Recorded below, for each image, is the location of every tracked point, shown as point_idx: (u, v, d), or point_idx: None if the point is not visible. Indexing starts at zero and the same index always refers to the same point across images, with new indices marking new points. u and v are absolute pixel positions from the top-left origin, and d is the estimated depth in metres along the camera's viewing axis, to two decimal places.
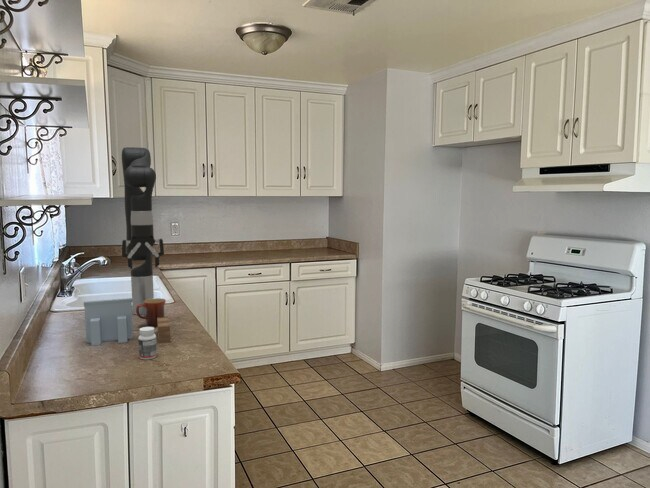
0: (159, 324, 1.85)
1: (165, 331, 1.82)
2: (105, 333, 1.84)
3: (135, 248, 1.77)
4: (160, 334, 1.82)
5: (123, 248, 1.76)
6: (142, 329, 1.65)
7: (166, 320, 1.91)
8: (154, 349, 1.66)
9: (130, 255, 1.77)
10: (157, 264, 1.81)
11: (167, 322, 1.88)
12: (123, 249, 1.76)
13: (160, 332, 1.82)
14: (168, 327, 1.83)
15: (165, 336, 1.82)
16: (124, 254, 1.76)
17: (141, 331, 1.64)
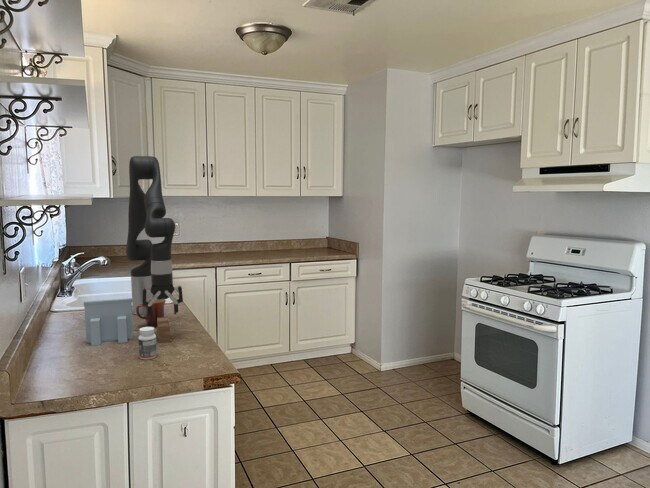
0: (159, 324, 1.85)
1: (165, 331, 1.82)
2: (105, 333, 1.84)
3: (155, 296, 1.82)
4: (160, 334, 1.82)
5: (144, 297, 1.81)
6: (142, 329, 1.65)
7: (166, 320, 1.91)
8: (154, 349, 1.66)
9: (150, 303, 1.82)
10: (176, 311, 1.86)
11: (167, 322, 1.88)
12: (144, 298, 1.81)
13: (160, 332, 1.82)
14: (168, 327, 1.83)
15: (165, 336, 1.82)
16: (144, 302, 1.81)
17: (141, 331, 1.64)
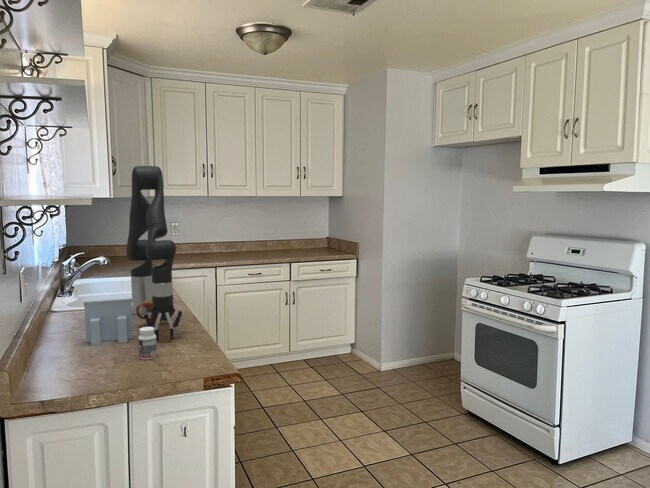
0: (159, 324, 1.85)
1: (165, 331, 1.82)
2: (105, 333, 1.84)
3: (158, 319, 1.83)
4: (160, 334, 1.82)
5: (148, 321, 1.82)
6: (142, 329, 1.65)
7: None
8: (154, 349, 1.66)
9: (157, 327, 1.84)
10: (171, 335, 1.87)
11: (167, 322, 1.88)
12: (148, 322, 1.82)
13: (160, 332, 1.82)
14: (168, 327, 1.83)
15: (165, 336, 1.82)
16: (151, 326, 1.83)
17: (141, 331, 1.64)
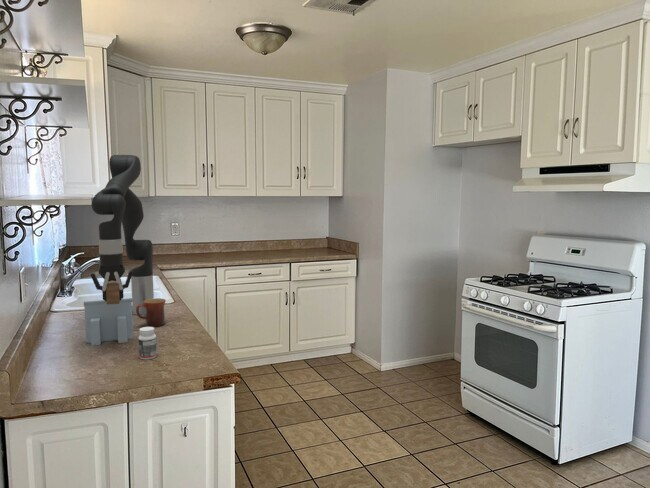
0: (108, 285, 1.72)
1: (113, 291, 1.70)
2: (105, 333, 1.84)
3: (106, 279, 1.71)
4: (108, 295, 1.69)
5: (94, 281, 1.70)
6: (142, 329, 1.65)
7: None
8: (154, 349, 1.66)
9: (105, 287, 1.71)
10: (121, 297, 1.74)
11: None
12: (95, 282, 1.70)
13: (108, 292, 1.69)
14: (117, 287, 1.70)
15: (113, 297, 1.70)
16: (98, 287, 1.70)
17: (141, 331, 1.64)
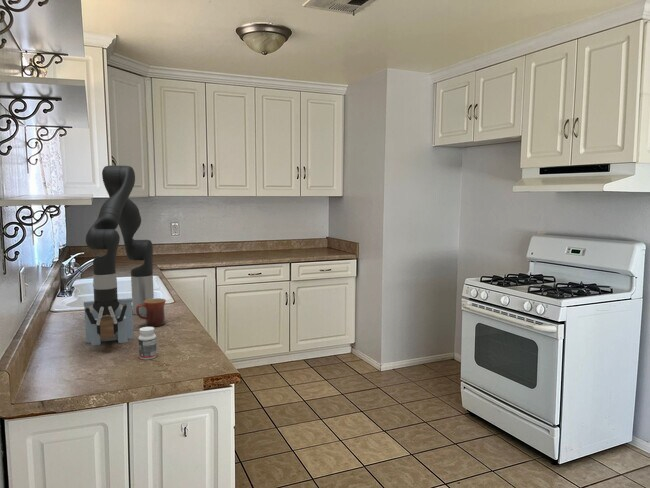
0: (102, 319, 1.73)
1: (107, 326, 1.70)
2: None
3: (100, 313, 1.71)
4: (102, 329, 1.70)
5: (89, 316, 1.70)
6: (142, 329, 1.65)
7: None
8: (154, 349, 1.66)
9: (99, 322, 1.72)
10: (115, 331, 1.74)
11: (111, 317, 1.75)
12: (89, 317, 1.70)
13: (102, 327, 1.69)
14: (111, 322, 1.70)
15: (107, 331, 1.70)
16: (93, 321, 1.71)
17: (141, 331, 1.64)
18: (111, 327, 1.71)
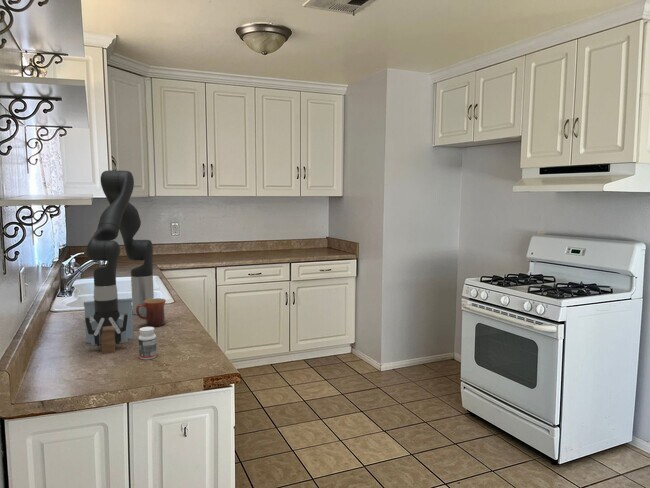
0: (103, 333, 1.73)
1: (108, 341, 1.71)
2: None
3: (99, 324, 1.71)
4: (103, 344, 1.70)
5: (87, 326, 1.71)
6: (142, 329, 1.65)
7: (112, 328, 1.80)
8: (154, 349, 1.66)
9: (97, 332, 1.72)
10: (119, 340, 1.75)
11: (112, 331, 1.76)
12: (88, 327, 1.71)
13: (103, 342, 1.70)
14: (112, 336, 1.71)
15: (108, 346, 1.71)
16: (90, 331, 1.71)
17: (141, 331, 1.64)
18: (112, 342, 1.71)
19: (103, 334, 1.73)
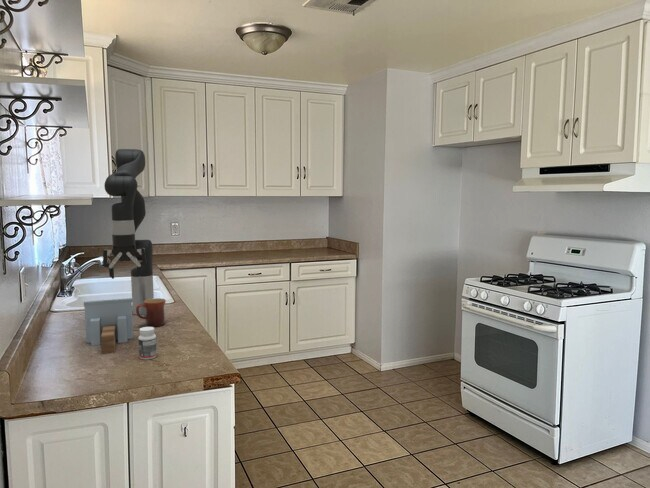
0: (103, 333, 1.73)
1: (108, 341, 1.71)
2: None
3: (116, 258, 1.75)
4: (103, 344, 1.70)
5: (104, 258, 1.74)
6: (142, 329, 1.65)
7: (112, 328, 1.80)
8: (154, 349, 1.66)
9: (111, 265, 1.75)
10: (139, 274, 1.79)
11: (112, 331, 1.76)
12: (104, 259, 1.74)
13: (103, 342, 1.70)
14: (112, 336, 1.71)
15: (108, 346, 1.71)
16: (105, 264, 1.74)
17: (141, 331, 1.64)
18: (112, 342, 1.71)
19: (103, 334, 1.73)
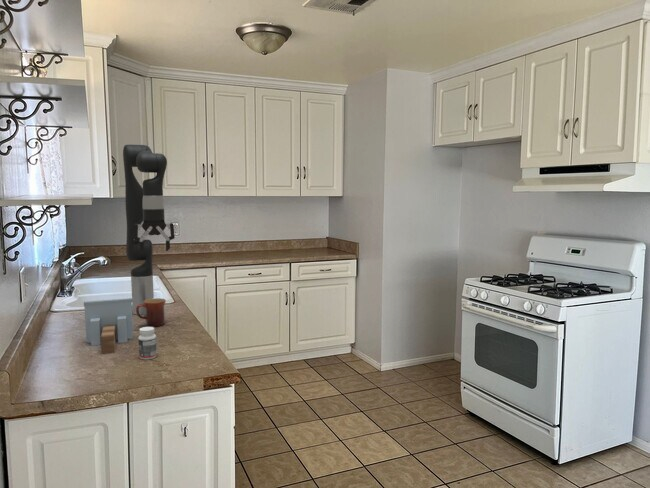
0: (103, 333, 1.73)
1: (108, 341, 1.71)
2: None
3: (147, 232, 1.82)
4: (103, 344, 1.70)
5: (135, 232, 1.81)
6: (142, 329, 1.65)
7: (112, 328, 1.80)
8: (154, 349, 1.66)
9: (142, 238, 1.82)
10: (168, 248, 1.86)
11: (112, 331, 1.76)
12: (135, 233, 1.81)
13: (103, 342, 1.70)
14: (112, 336, 1.71)
15: (108, 346, 1.71)
16: (136, 237, 1.81)
17: (141, 331, 1.64)
18: (112, 342, 1.71)
19: (103, 334, 1.73)
